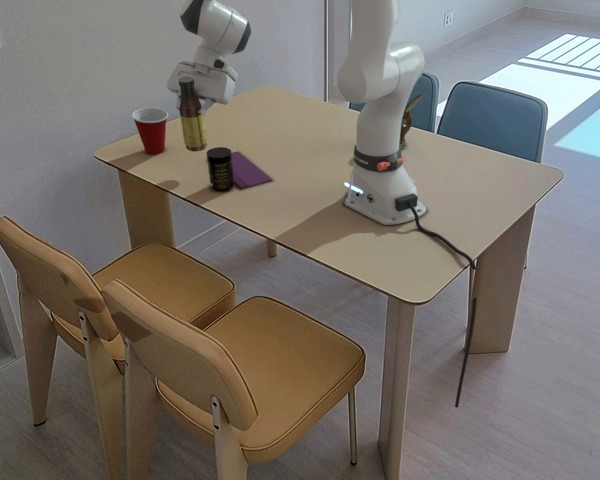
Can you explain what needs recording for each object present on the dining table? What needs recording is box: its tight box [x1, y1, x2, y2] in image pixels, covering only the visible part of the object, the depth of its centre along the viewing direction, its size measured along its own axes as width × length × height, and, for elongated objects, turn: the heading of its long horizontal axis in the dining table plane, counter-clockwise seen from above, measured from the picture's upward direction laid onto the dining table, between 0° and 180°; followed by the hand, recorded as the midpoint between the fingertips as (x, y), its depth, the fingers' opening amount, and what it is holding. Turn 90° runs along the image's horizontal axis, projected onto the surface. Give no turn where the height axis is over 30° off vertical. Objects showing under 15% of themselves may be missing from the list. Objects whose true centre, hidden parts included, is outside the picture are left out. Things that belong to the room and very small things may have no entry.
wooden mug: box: [399, 93, 422, 151], centre depth 196 cm, size 9×14×18 cm, turn 51°
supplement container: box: [206, 146, 235, 193], centre depth 179 cm, size 7×7×10 cm
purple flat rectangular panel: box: [231, 151, 273, 190], centre depth 191 cm, size 22×10×1 cm, turn 30°
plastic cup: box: [131, 107, 169, 155], centre depth 199 cm, size 11×11×12 cm
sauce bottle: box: [178, 77, 208, 153], centre depth 180 cm, size 6×6×20 cm
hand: (189, 112), depth 179 cm, fingers closed on sauce bottle, 6 cm apart
